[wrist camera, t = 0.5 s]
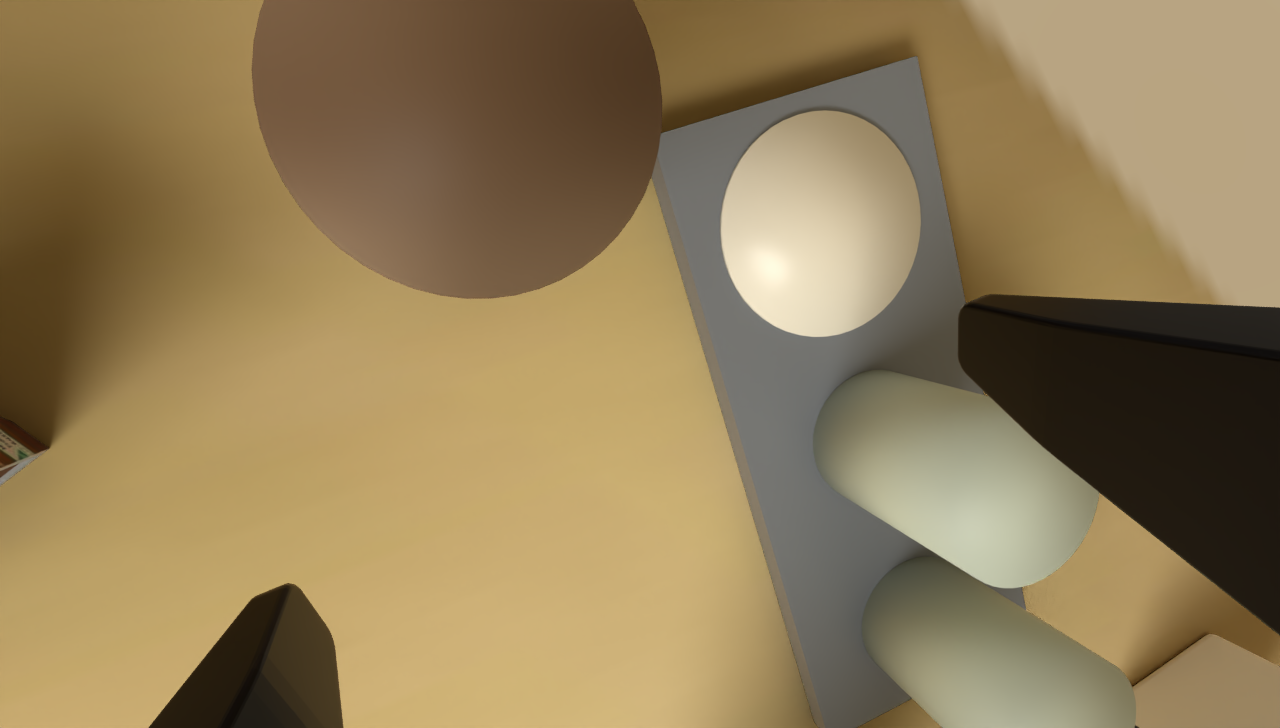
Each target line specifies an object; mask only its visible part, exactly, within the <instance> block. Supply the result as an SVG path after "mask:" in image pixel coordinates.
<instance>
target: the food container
mask: <svg viewBox="0 0 1280 728" xmlns="http://www.w3.org/2000/svg"><path fill="white" fill-rule="evenodd" d="M48 449H49V448H48V447H47V446H45V445H44V444H43V443H41V442H40V441H38V440H37V439H36V438H34V437H33V436H31V435H30V434H29V433H27V432H26V431H24V430H23V429H22V428H20V427H19V426H17V425H16V424H15V423H13V422H12V421H9V420H7V419H4V418H2V417H0V486H1V485H2V484H4V483H5V482H6V481H8V480H9V479H10V478H11V477H13V476H14V475H15V474H17V473H18V472H19V471H21V470H22V469H23V468H25V467H26V466H27V465H28V464H30V463H31V462H32V461H34V460H35V459H36V458H38V457H39V456H40V455H42V454H43V453H44V452H45V451H47V450H48Z"/></svg>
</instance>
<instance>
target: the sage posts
mask: <svg viewBox="0 0 1280 728" xmlns="http://www.w3.org/2000/svg"><path fill="white" fill-rule="evenodd" d="M813 453H814V458H815V462H816V465H817V468H818V470H819V472H820V474H821V476H822V477H823V479H824V480H825V482H826V483H827V484H828V485H829V486H830V487H831V488H832V489H833V490H835V491H836V492H837V493H839V494H841V495H842V496H844V497H845V498H847V499H849V500H850V501H852V502H854V503H855V504H857V505H858V506H860V507H862V508H863V509H865V510H866V511H868V512H870V513H871V514H873V515H875V516H876V517H878V518H879V519H881V520H883V521H884V522H886V523H887V524H889V525H891V526H892V527H894V528H896V529H897V530H899V531H900V532H902V533H904V534H905V535H907V536H908V537H910V538H912V539H913V540H915V541H916V542H918V543H920V544H921V545H923V546H925V547H926V548H928V549H929V550H931V551H933V552H934V553H936V554H937V555H939V556H941V557H942V558H944V559H946V560H947V561H949V562H950V563H949V562H947V561H945V560H943V559H940V558H936V557H918V558H914V559H910V560H908V561H905V562H903V563H901V564H900V565H898V566H896V567H895V568H893V569H892V570H891V571H889V572H888V573H887V574H886V575H885V576H884V577H883V578H882V579H881V580H880V581H879V583H878V584H877V585H876V587H875V588H874V590H873V591H872V593H871V595H870V597H869V599H868V601H867V603H866V606H865V610H864V613H863V619H862V637H863V642H864V645H865V648H866V650H867V652H868V654H869V656H870V657H871V658H872V660H873V661H874V662H875V663H876V664H877V665H878V666H879V667H880V668H881V669H882V670H883V671H884V672H886V673H887V674H888V675H889V676H890V677H891V678H892V679H893V680H894V681H895V682H896V683H897V684H898V685H899V686H900V687H901V688H902V689H903V690H904V691H905V692H906V693H907V694H908V695H909V696H910V697H911V698H912V699H913V700H914V701H915V702H916V703H917V704H918V705H919V706H920V707H921V708H922V709H923V710H925V711H926V712H927V713H928V714H929V715H930V716H931V717H932V718H933V719H934V720H935V721H936V722H937V723H938V724H939V725H940V726H941V727H942V728H1135V721H1136V700H1135V695H1134V691H1133V688H1132V686H1131V683H1130V682H1129V680H1128V678H1127V677H1126V675H1125V674H1124V673H1123V672H1122V671H1121V670H1120V669H1119V668H1118V667H1116V666H1115V665H1113V664H1112V663H1110V662H1108V661H1107V660H1105V659H1104V658H1102V657H1100V656H1099V655H1097V654H1096V653H1094V652H1092V651H1091V650H1089V649H1088V648H1086V647H1084V646H1083V645H1081V644H1079V643H1078V642H1076V641H1075V640H1073V639H1071V638H1070V637H1068V636H1067V635H1065V634H1063V633H1062V632H1060V631H1059V630H1057V629H1055V628H1054V627H1052V626H1051V625H1049V624H1047V623H1046V622H1044V621H1042V620H1041V619H1039V618H1038V617H1036V616H1034V615H1033V614H1031V613H1030V612H1028V611H1026V610H1025V609H1023V608H1022V607H1020V606H1018V605H1017V604H1015V603H1014V602H1012V601H1010V600H1009V599H1007V598H1005V597H1004V596H1002V595H1001V594H999V593H997V592H996V591H994V590H993V589H991V588H989V587H988V586H986V585H985V584H988V585H991V586H994V587H999V588H1018V587H1024V586H1027V585H1031V584H1033V583H1036V582H1038V581H1040V580H1042V579H1044V578H1046V577H1047V576H1049V575H1051V574H1052V573H1053V572H1055V571H1056V570H1057V569H1059V568H1060V567H1061V566H1062V565H1063V564H1064V563H1065V562H1066V561H1067V560H1068V559H1069V558H1070V557H1071V556H1072V555H1073V554H1074V552H1075V551H1076V550H1077V548H1078V547H1079V545H1080V544H1081V543H1082V541H1083V539H1084V537H1085V536H1086V534H1087V532H1088V530H1089V528H1090V525H1091V523H1092V521H1093V518H1094V515H1095V512H1096V508H1097V503H1098V498H1099V492H1098V491H1097V490H1095V489H1094V488H1093V487H1092V486H1090V485H1089V484H1088V483H1087V482H1085V481H1084V480H1083V479H1082V478H1080V477H1079V476H1078V475H1077V474H1075V473H1074V472H1073V471H1071V470H1070V469H1069V468H1068V467H1066V466H1065V465H1064V464H1063V463H1061V462H1060V461H1059V460H1058V459H1056V458H1055V457H1054V456H1053V455H1052V454H1050V453H1049V452H1048V451H1047V450H1045V449H1044V448H1043V447H1042V446H1041V445H1040V444H1039V443H1038V442H1036V441H1035V440H1034V439H1033V438H1032V437H1031V436H1030V435H1029V434H1028V433H1027V432H1026V431H1025V430H1024V429H1023V428H1022V427H1020V426H1019V425H1018V424H1017V423H1016V422H1015V421H1014V420H1013V419H1012V418H1011V417H1010V416H1009V415H1008V414H1007V413H1006V412H1005V411H1004V410H1003V409H1002V408H1001V407H1000V406H999V405H998V404H997V403H995V402H994V401H993V400H992V399H991V398H990V397H989V396H985V395H981V394H977V393H973V392H970V391H966V390H962V389H958V388H954V387H950V386H946V385H943V384H939V383H935V382H931V381H927V380H923V379H919V378H916V377H912V376H908V375H904V374H900V373H896V372H893V371H888V370H871V371H866V372H863V373H860V374H857V375H855V376H853V377H851V378H849V379H848V380H846V381H845V382H843V383H842V384H841V385H840V386H838V387H837V388H836V389H835V390H834V391H833V393H832V394H831V395H830V396H829V397H828V399H827V400H826V402H825V403H824V405H823V407H822V409H821V411H820V413H819V415H818V418H817V421H816V424H815V428H814V434H813ZM951 563H952V564H954V565H955V566H954V565H952V564H951ZM956 566H957V567H958V568H957V567H956ZM959 568H960V569H962V570H963V571H962V570H960V569H959ZM964 571H965V572H966V573H965V572H964ZM967 573H968V574H970V575H971V576H970V575H968V574H967ZM972 576H973V577H975V578H976V579H975V578H973V577H972ZM977 579H978V580H980V581H982V582H983V583H985V584H983V583H981V582H980V581H978V580H977Z"/></svg>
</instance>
